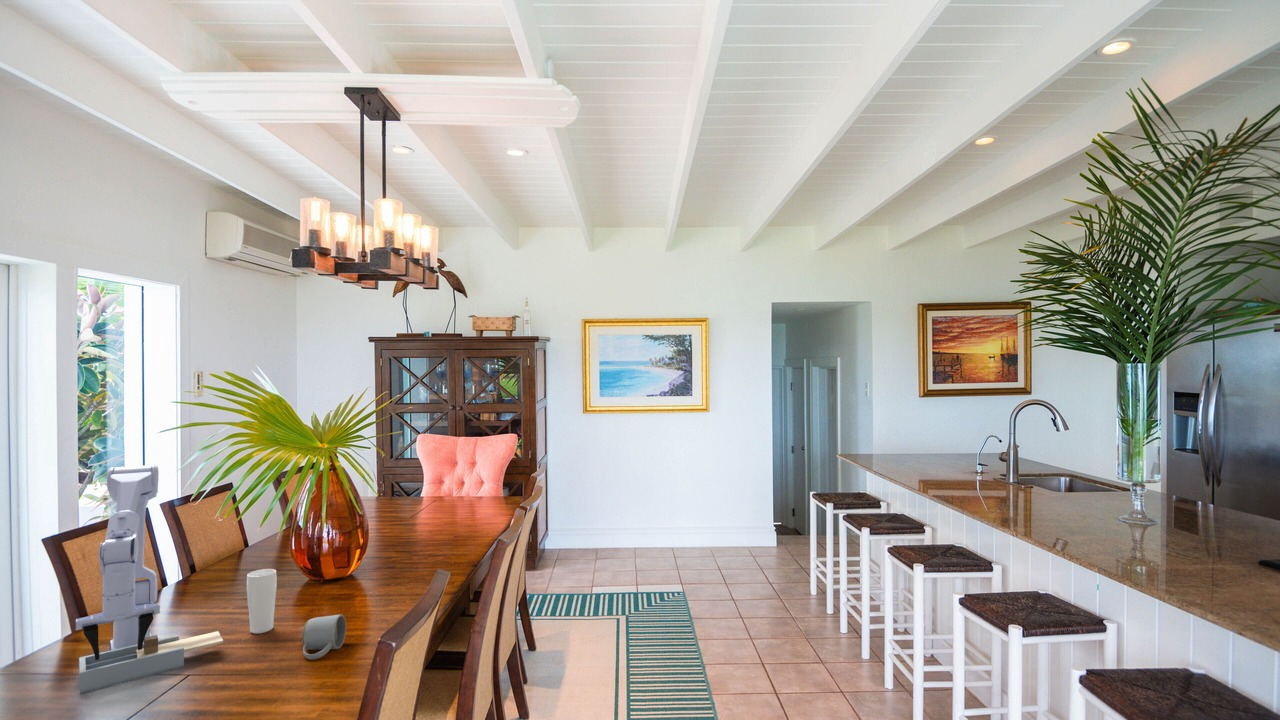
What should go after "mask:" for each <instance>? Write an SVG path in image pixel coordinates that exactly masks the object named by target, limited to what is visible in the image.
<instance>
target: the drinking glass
mask: <svg viewBox="0 0 1280 720" xmlns="http://www.w3.org/2000/svg"><path fill="white" fill-rule="evenodd" d="M277 583H278V580H277V570H276V569H274V568H263V569H258V570H253V571H250V572H249V573H247V575H246V599H247V607H248V620H249V632H250V633H252V634H256V635H257V634H263V633H268V632H270V631H271V630H272V629H274V626H275V625H274V621H275V620H274V619H275V606H276V598H277V597H276V596H277Z"/></svg>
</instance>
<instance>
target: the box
mask: <svg viewBox="0 0 1280 720" xmlns="http://www.w3.org/2000/svg"><path fill="white" fill-rule="evenodd" d="M177 640H180V636H179V635H178V634H175V635H173V636H168V637H163V638H158V645H159V644H164V643H168V642H172V641H177ZM142 648H144V643H143V646H142ZM137 649H138V644H137V645H132V646H128V647H124V648H119V649H115V650H107V651H103V652H99V659H98V660H95V655H94V653H93V654H90V655H85V656H84V655H83V656H80V657H78V659H79V661H78V667H79V671H78V672H79V673H78V680H79V681H78V682H79V685H78V687H79V695H83V694H86V692H87V693H90V692H93V691H94V692H95V691H98V690H97V689H99V690H103V689H107V688H110V687H113V686H118V685H121V683H122V684H126V683H128V682H129V681H130V682H133V681H137V680H141V679H145V678H149V677H153V676H156V675H160V674H163V673H168V671H169V672H172V671H176V670H179V669H184V668H185V652H184V647H181V648H177V649H173V650H169V651H164V652H160V653H156V654H152V655H148V656H144V657H139V658H137V655H136V650H137ZM125 682H126V683H125ZM117 684H118V685H117ZM102 688H103V689H102Z"/></svg>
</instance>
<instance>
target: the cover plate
mask: <svg viewBox="0 0 1280 720" xmlns="http://www.w3.org/2000/svg"><path fill="white" fill-rule="evenodd" d="M158 640H159V637H158V634H155V635H151V636H149V637H145V638H144V648H142V649H141V650H138V649H137V650H136V655H137V658H139V657H144V656H148V655H152V654H156V653H160V652H164V651H169V650H173V649H177V648H181V647H184V653H187V652H191V651H196V650H200V649H204V648H208V647H211V646H212V647H213V646H216V645H221V644H224V639H223V637H222V636H221V633H220V632H219V630H217V631H212V632H209V633H204V634H199V635H195V636H192V637H191V636H190V637H186V638H182V639H179V640H177V641H172V642H168V643H164V644H159V645H158Z"/></svg>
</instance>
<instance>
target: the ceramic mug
mask: <svg viewBox="0 0 1280 720" xmlns="http://www.w3.org/2000/svg"><path fill="white" fill-rule="evenodd" d="M346 634H347V623H346V618H345V616H344V615H343V614H334V615H327V616H318V617H313V618H310V619H308V620H306V622H305V623H304V625H303V628H302V632H301V641H302V642H301V643H302V645H303V648H302V653H303V656H304V658H306V659H307V660H317V659H320V658H323V657H324V656H325V655H327V654H328V653H329V651H330V650H337V649H340V648H341V647H343V644H344V642H345V640H346V639H345V638H346ZM308 650H309V651H310V650H311V651H314V650H315V651H316V650H318V652H316V653H312V654H310V653H308V652H307V651H308ZM319 650H320V651H319Z"/></svg>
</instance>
